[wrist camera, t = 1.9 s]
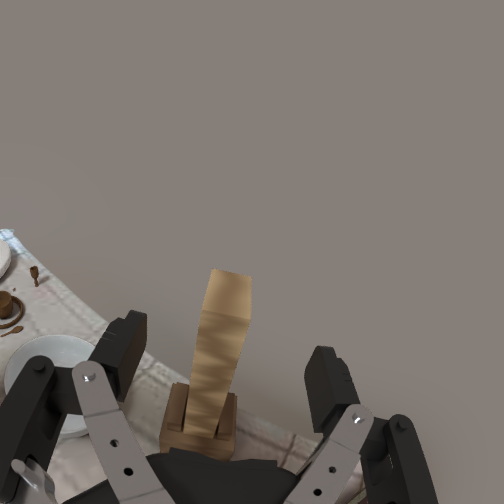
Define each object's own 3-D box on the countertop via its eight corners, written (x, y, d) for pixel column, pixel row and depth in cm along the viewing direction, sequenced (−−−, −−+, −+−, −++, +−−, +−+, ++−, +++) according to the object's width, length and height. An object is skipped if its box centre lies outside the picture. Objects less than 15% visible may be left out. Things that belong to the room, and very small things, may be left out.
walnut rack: (160, 458, 33) (158, 428, 28) (171, 411, 42) (173, 373, 37) (223, 470, 34) (238, 443, 29) (227, 422, 43) (240, 386, 38)
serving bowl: (54, 470, 23) (39, 455, 20) (2, 381, 31) (-10, 357, 28) (143, 412, 40) (141, 391, 37) (80, 344, 48) (75, 319, 46)
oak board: (183, 433, 31) (201, 309, 22) (190, 394, 37) (212, 268, 28) (212, 438, 31) (250, 319, 22) (217, 400, 37) (251, 276, 29)
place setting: (-19, 301, 44) (-25, 282, 42) (39, 282, 60) (36, 263, 58) (-9, 345, 37) (-17, 324, 34) (60, 318, 53) (56, 298, 50)
